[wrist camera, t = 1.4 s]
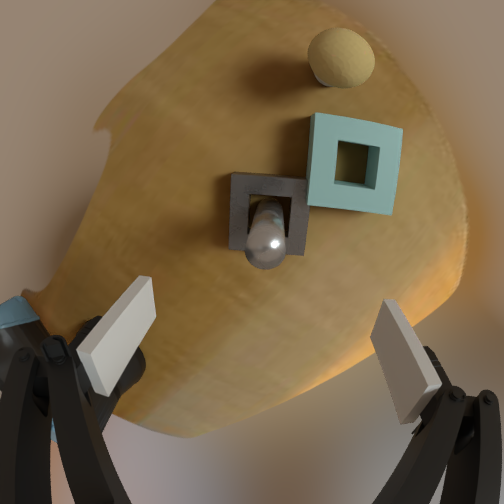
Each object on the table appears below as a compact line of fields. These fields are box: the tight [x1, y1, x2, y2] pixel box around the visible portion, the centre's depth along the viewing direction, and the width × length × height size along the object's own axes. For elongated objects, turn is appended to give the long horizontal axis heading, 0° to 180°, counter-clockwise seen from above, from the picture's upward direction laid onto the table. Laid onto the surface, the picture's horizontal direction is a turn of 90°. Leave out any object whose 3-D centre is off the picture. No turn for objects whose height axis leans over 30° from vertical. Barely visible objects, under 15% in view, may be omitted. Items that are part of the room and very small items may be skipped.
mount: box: [229, 172, 310, 256], centre depth 33 cm, size 9×9×2 cm
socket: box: [306, 113, 403, 215], centre depth 29 cm, size 10×10×4 cm
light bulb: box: [308, 28, 375, 88], centre depth 22 cm, size 6×6×10 cm
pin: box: [245, 198, 286, 269], centre depth 28 cm, size 3×3×13 cm
